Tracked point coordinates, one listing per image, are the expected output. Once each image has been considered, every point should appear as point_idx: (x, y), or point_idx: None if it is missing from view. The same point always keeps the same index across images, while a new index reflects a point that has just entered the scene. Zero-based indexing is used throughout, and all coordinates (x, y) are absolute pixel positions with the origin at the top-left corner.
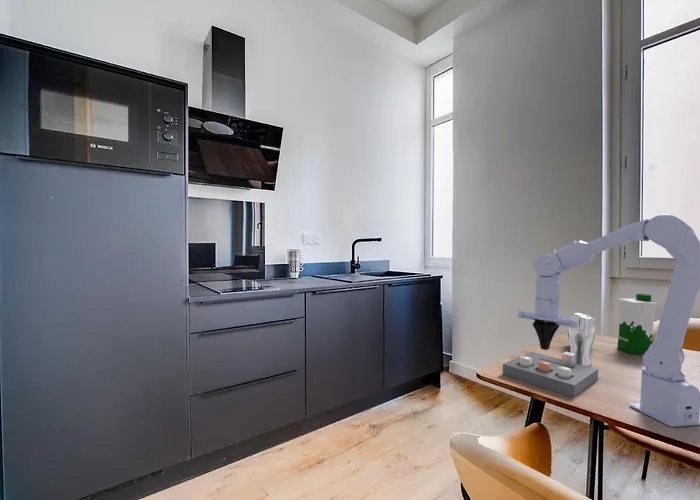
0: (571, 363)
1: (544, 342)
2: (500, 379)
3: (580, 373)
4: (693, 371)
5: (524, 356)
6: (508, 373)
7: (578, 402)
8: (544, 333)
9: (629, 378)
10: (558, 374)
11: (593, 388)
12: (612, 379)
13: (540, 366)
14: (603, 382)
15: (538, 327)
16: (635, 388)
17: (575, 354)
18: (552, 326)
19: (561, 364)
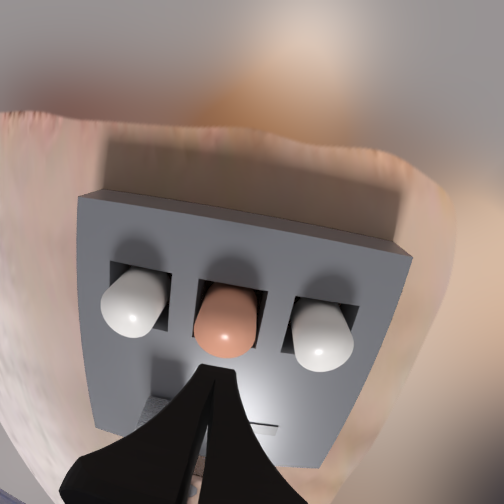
0: (144, 408)
1: (198, 392)
2: (387, 174)
3: (107, 358)
4: (47, 493)
5: (333, 365)
6: (372, 239)
7: (85, 154)
8: (181, 445)
9: (73, 440)
10: (156, 284)
11: None
12: (89, 421)
13: (238, 302)
14: None
15: (237, 490)
16: (37, 386)
17: (191, 500)
18: (61, 484)
19: None
